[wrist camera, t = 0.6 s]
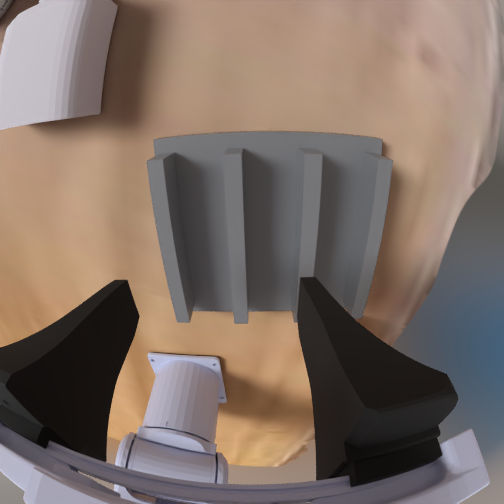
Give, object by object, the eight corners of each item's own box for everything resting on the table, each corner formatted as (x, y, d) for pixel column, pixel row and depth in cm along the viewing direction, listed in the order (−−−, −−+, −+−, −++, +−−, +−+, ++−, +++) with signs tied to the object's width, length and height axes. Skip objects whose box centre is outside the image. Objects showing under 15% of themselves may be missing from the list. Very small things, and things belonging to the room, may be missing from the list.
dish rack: (352, 300, 23) (363, 327, 20) (183, 303, 24) (174, 331, 20) (376, 137, 16) (399, 144, 13) (158, 138, 17) (138, 144, 14)
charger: (141, -49, 9) (105, 114, 16) (53, -21, 8) (25, 123, 15) (118, -73, 4) (67, 119, 12) (23, -32, 4) (-12, 133, 11)
